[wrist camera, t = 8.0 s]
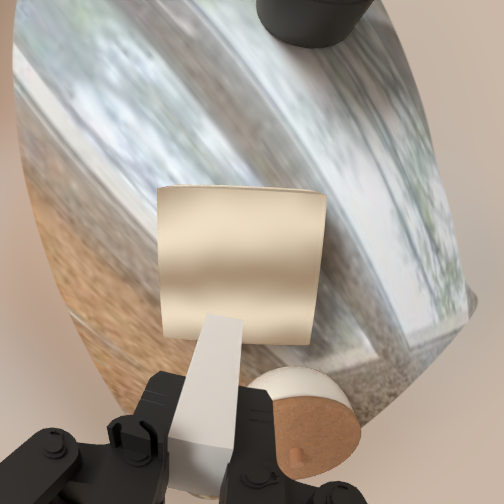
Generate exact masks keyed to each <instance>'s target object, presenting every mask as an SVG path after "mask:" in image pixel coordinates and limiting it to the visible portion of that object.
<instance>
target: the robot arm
mask: <svg viewBox="0 0 504 504" xmlns="http://www.w3.org/2000/svg"><path fill="white" fill-rule="evenodd" d="M242 332H243V320H241V319H235V318H230V317H224V316H219V315H214V314H209V313H207V314H206V317H205V320H204V324H203V327H202V330H201V333H200V336H199V339H198V342H197V345H196V348H195V351H194V354H193V357H192V360H191V364H190V367H189V370H188V373H187V376H186V377H185V376H181V375H176V374H172V373H168V372H164V371H159V372H158V373H157V374H155V375H154V376H153V377H151V378H150V379H149V382H148V384H147V386H146V388H145V391H144V392H143V394H142V397H141V400H140V401H139V403H138V405H137V407H136V410H135V412H134V414H133V415H126V416H120V417H118V418H116V419H114V420H112V422H110V424H109V425H108V426H107V430H108V435H109V440H110V444H105V445H96V444H86V443H78V442H76V440H75V438H73V436H72V435H71V434H70V433H68V432H66V431H64V430H62V429H58V428H46V429H42V430H40V431H38V432H37V433H35V434H34V435H33V436H32V437H30V438H29V439H28V440H27V441H26V442H24V443H23V444H22V445H21V446H20V447H19V448H17V449H16V450H15V451H14V452H13V453H11V454H10V455H9V456H8V457H7V458H5V459H4V460H3V461H2V462H1V463H0V504H165V493H166V489H167V485H168V488H173V489H177V490H182V491H187V492H192V493H197V494H203V495H209V496H215V497H219V496H220V497H219V504H367V502H366V500H365V499H364V497H363V495H362V494H361V493H360V491H359V490H358V489H357V488H356V487H354V486H353V485H351V484H349V483H345V482H341V481H334V482H328V483H326V484H323V485H321V486H320V487H319V488H318V487H314V486H310V485H307V484H303V483H300V482H297V481H295V480H292V479H291V478H289V477H288V476H286V475H285V474H284V473H283V472H282V471H281V469H280V467H279V466H278V463H277V458H276V442H275V426H274V415H273V413H274V411H273V400H272V399H271V397H270V396H269V394H268V392H267V391H266V390H264V389H256V388H250V387H243V386H238V383H239V370H240V357H241V344H242Z"/></svg>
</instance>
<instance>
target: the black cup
mask: <svg viewBox="0 0 504 504" xmlns="http://www.w3.org/2000/svg"><path fill="white" fill-rule="evenodd" d="M373 1H374V0H256V7H257V13H258V16H259V19H260V20H261V22H262V24H263V25H264V26H265V27H266V29H267V30H269V31H270V32H271V33H272V34H273V35H275V36H276V37H278V38H279V39H281V40H283V41H285V42H287V43H290V44H292V45H296V46H300V47H306V48H322V47H328V46H332V45H334V44H337V43H339V42H340V41H342V40H343V39H345V38H346V37H347V36H348V35H349V33H350V32H351V30H352V29H353V28H354V26H355V25H356V24H357V22H358V21H359V20H360V18H361V17H362V16H363V14H364V13H365V12H366V10H367V9H368V8H369V6H370V5H371V4H372V2H373Z"/></svg>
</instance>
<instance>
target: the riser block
mask: <svg viewBox="0 0 504 504" xmlns="http://www.w3.org/2000/svg"><path fill="white" fill-rule="evenodd" d="M326 203H327V195H324V194H322V193H319V192H316V191H313V190H302V189H288V188H271V187H252V186H226V185H172V186H167V187H162V188H157V232H158V263H159V282H160V298H161V311H162V323H163V333H164V337H167V338H177V339H188V340H198V339H199V336H200V333H201V330H202V327H203V324H204V320H205V317H206V314H207V313H209V314H214V315H219V316H224V317H230V318H235V319H241V320H243V332H242V343H244V344H269V345H310V338H311V332H312V325H313V319H314V312H315V304H316V297H317V289H318V282H319V273H320V265H321V256H322V247H323V237H324V226H325V215H326Z"/></svg>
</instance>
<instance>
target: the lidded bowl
mask: <svg viewBox="0 0 504 504" xmlns="http://www.w3.org/2000/svg"><path fill="white" fill-rule="evenodd" d="M247 387H250V388H256V389H264V390H266V391H267V392H268V394H269V396H270V397H271V399H272V400H273V411H274V413H273V415H274V426H275V442H276V458H277V463H278V466H279V467H280V469H281V471H282V472H283V473H284V474H285V475H286V476H288V477H289V478H291V479H292V480H297V479H304V478H308V477H312V476H316V475H318V474H322V473H324V472H326V471H329V470H331V469H332V468H334V467H336V466H338V465H339V464H341V463H342V462H344V461H345V460H346V459H347V458H348V457H349V456H350V455H351V454H352V453H353V452H354V450H355V449H356V447H357V446H358V443H359V441H360V438H361V427H360V424H359V421H358V419H357V417H356V415H355V413H354V412H353V409H352V407H351V405H350V402H349V401H348V399H347V397H346V395H345V394H344V392H343V391H342V389H341V388H340V387H339V386H338V385H337V384H336V382H335V381H333V380H332V379H331V378H329V377H328V376H327V375H325V374H323V373H322V372H320V371H317V370H314V369H311V368H307V367H301V366H285V367H280V368H276V369H273V370H271V371H268V372H266V373H264V374H262V375H260V376H259V377H257V378H256V379H255V380H253V381H252V382H251V383H250V384H249V385H248V386H247Z"/></svg>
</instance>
